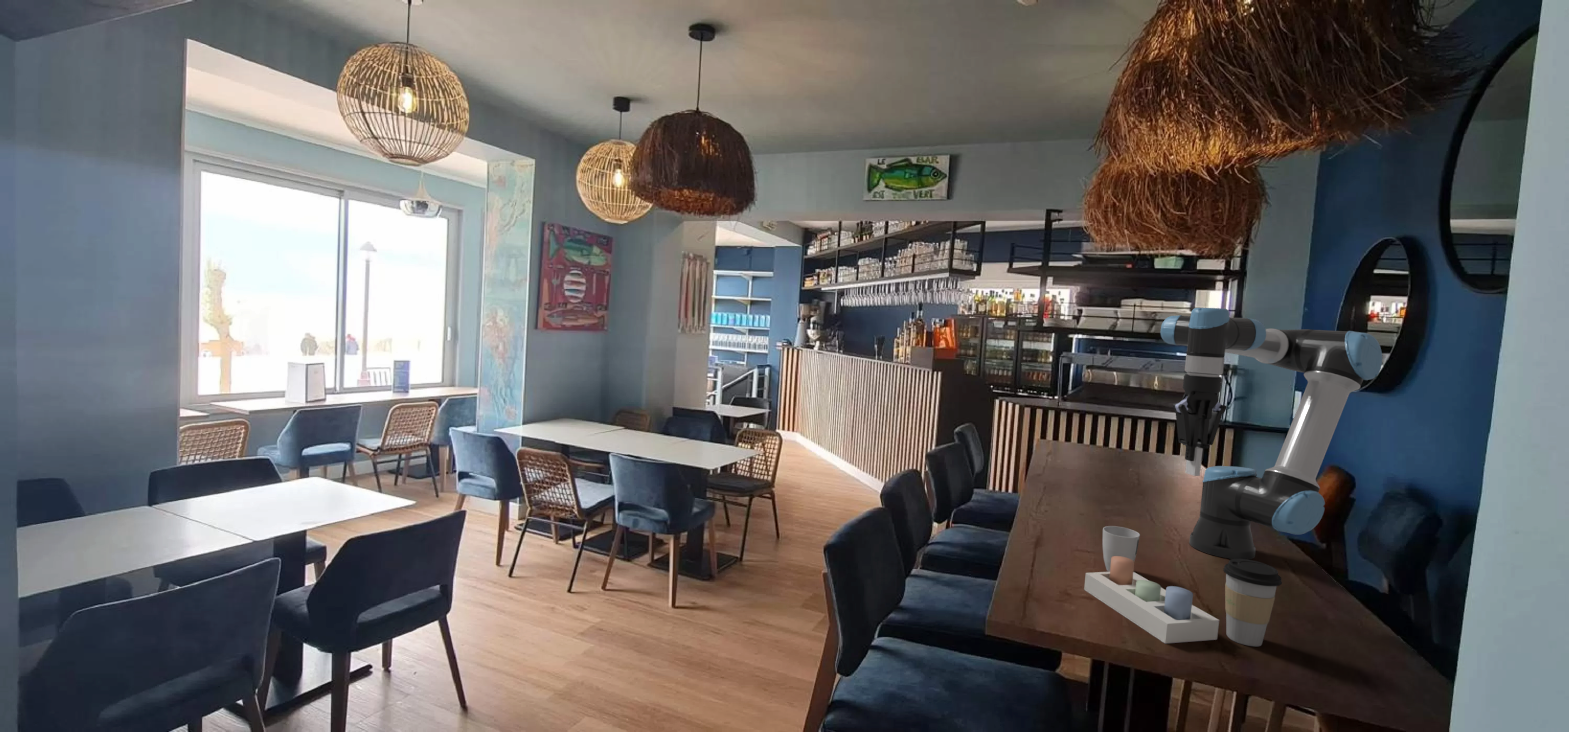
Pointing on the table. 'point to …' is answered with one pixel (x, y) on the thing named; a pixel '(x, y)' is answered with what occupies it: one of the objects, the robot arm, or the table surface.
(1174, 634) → the button board
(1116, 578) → the terracotta cap
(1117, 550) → the cup
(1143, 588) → the sage cap
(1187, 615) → the slate cap
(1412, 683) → the table surface
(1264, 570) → the coffee cup
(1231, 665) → the table surface
